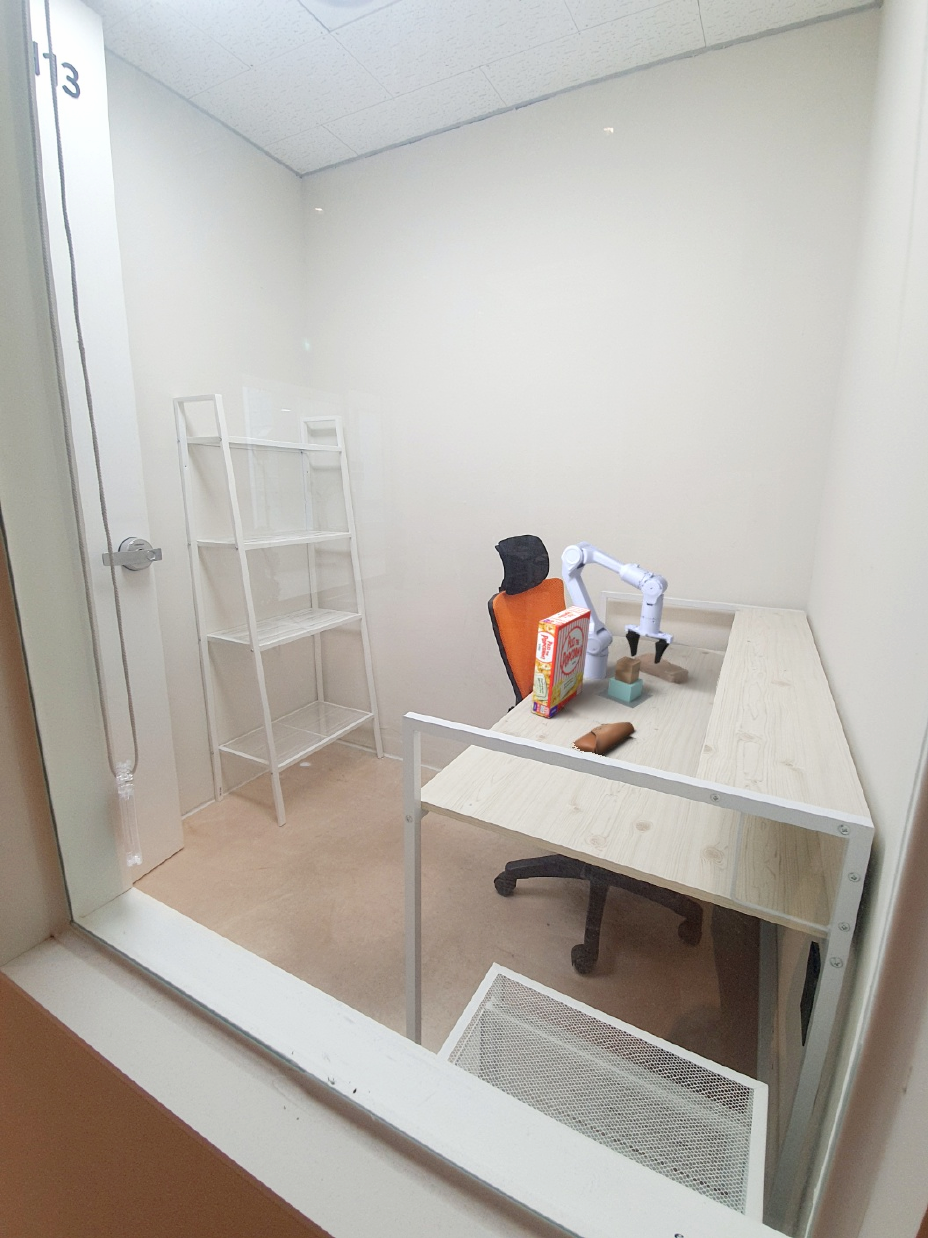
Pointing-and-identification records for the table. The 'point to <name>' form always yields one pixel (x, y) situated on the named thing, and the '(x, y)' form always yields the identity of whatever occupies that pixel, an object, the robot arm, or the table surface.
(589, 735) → the sunglasses case
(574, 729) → the table surface
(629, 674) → the walnut block
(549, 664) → the cardboard food box
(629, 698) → the base brick
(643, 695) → the baseplate
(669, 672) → the brick
